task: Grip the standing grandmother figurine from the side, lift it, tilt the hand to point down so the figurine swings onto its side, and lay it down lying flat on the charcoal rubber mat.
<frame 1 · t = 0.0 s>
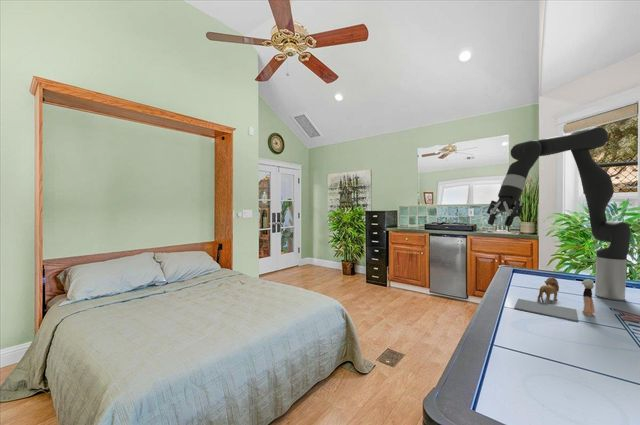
hand: (498, 225, 113), 31 cm above the table, tool tilted 20°, fingers open, 8 cm apart
grandmother figurine: (587, 314, 103), on the table
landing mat: (545, 309, 106), on the table
lion figurine: (547, 300, 117), on the table
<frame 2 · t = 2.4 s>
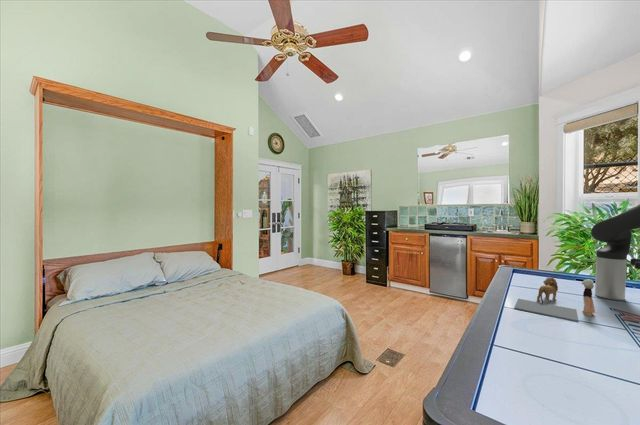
hand: (632, 263, 95), 20 cm above the table, tool horizontal, fingers open, 8 cm apart
lion figurine: (546, 300, 117), on the table, touching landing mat
everything else where it was.
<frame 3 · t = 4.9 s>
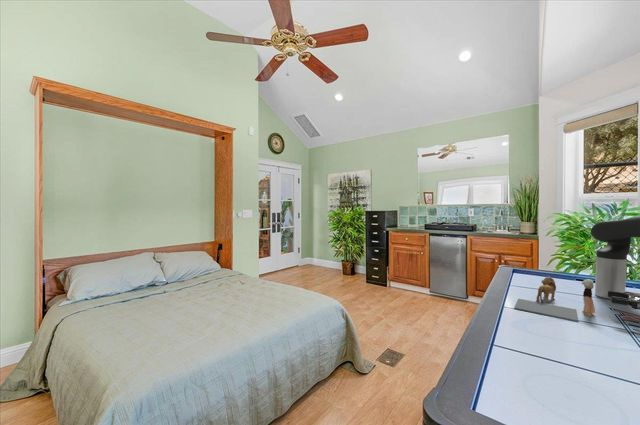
hand: (609, 296, 99), 8 cm above the table, tool horizontal, fingers open, 8 cm apart
lion figurine: (545, 300, 118), on the table
everything else where it was.
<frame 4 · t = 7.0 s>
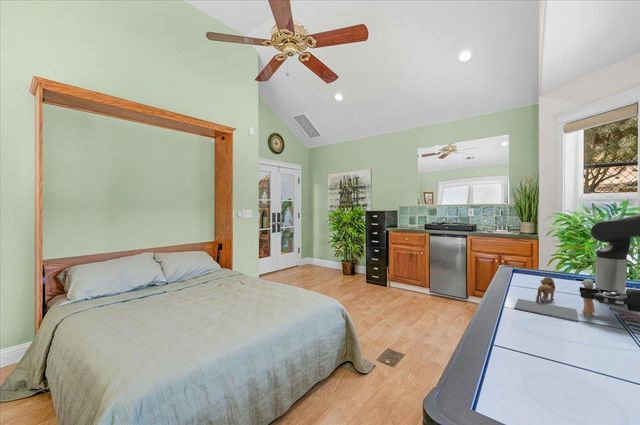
hand: (580, 291, 104), 8 cm above the table, tool horizontal, fingers closed on grandmother figurine, 7 cm apart
grandmother figurine: (587, 314, 103), on the table, touching gripper
everything else where it was.
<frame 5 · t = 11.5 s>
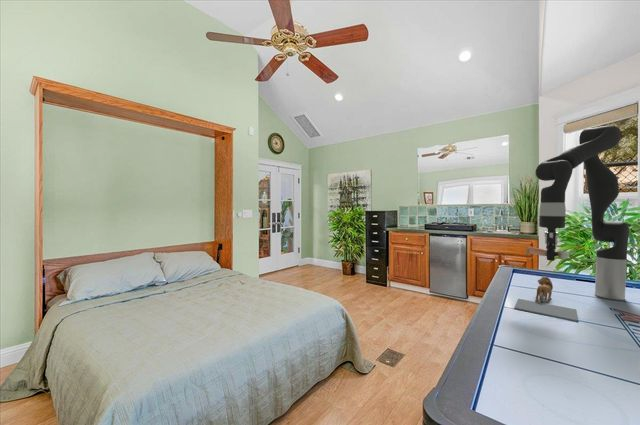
hand: (550, 258, 105), 20 cm above the table, tool pointing down, fingers closed on grandmother figurine, 7 cm apart
grandmother figurine: (525, 251, 110), point 22 cm above the table, touching gripper
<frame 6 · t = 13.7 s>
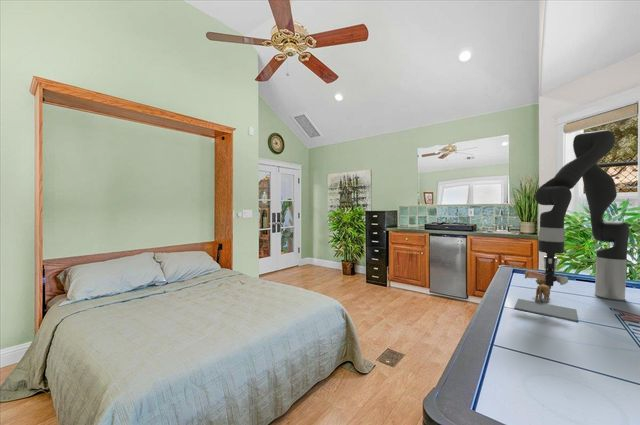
hand: (549, 283, 105), 10 cm above the table, tool pointing down, fingers closed on grandmother figurine, 7 cm apart
grandmother figurine: (524, 274, 110), point 12 cm above the table, touching gripper
when the fingers open (4 cm above the table, at t = 15.6 s): grandmother figurine drops 4 cm, resting on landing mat.
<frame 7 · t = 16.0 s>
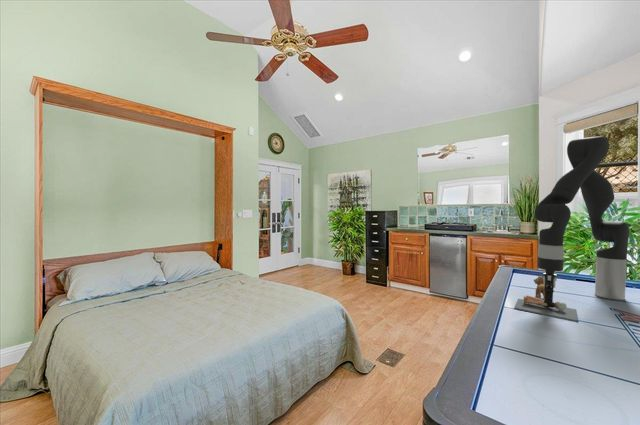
hand: (548, 299, 105), 4 cm above the table, tool pointing down, fingers open, 8 cm apart
grandmother figurine: (523, 299, 111), point 2 cm above the table, touching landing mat
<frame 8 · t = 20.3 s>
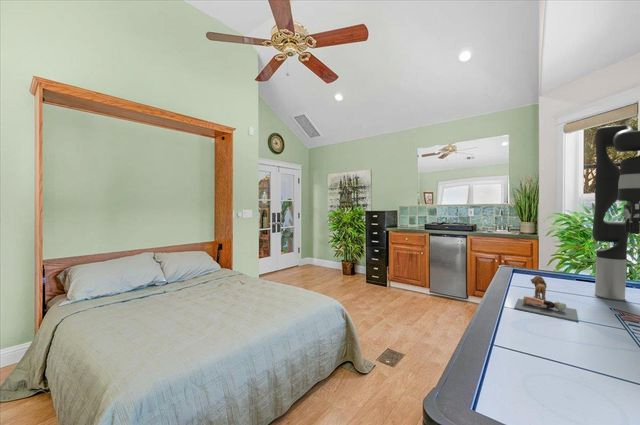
hand: (631, 233, 99), 30 cm above the table, tool pointing down, fingers open, 8 cm apart
at the end: grandmother figurine tilted 87°; grandmother figurine inside the target area (7.9 cm from its centre), point 1.9 cm above the table; the gripper is holding nothing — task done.
